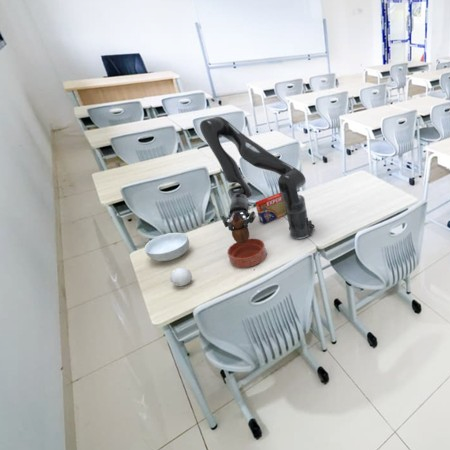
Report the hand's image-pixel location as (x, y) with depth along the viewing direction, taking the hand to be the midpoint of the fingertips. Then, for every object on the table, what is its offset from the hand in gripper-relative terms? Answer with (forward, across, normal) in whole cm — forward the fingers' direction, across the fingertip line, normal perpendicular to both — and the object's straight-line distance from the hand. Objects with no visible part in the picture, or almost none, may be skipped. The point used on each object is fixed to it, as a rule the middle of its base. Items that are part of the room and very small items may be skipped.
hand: (238, 228), depth 146 cm
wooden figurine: (-3, 0, +9) cm, 9 cm away
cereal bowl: (-16, -32, +18) cm, 41 cm away
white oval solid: (+8, -26, +18) cm, 32 cm away
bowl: (-2, 0, +18) cm, 18 cm away
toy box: (-36, +14, +18) cm, 43 cm away
